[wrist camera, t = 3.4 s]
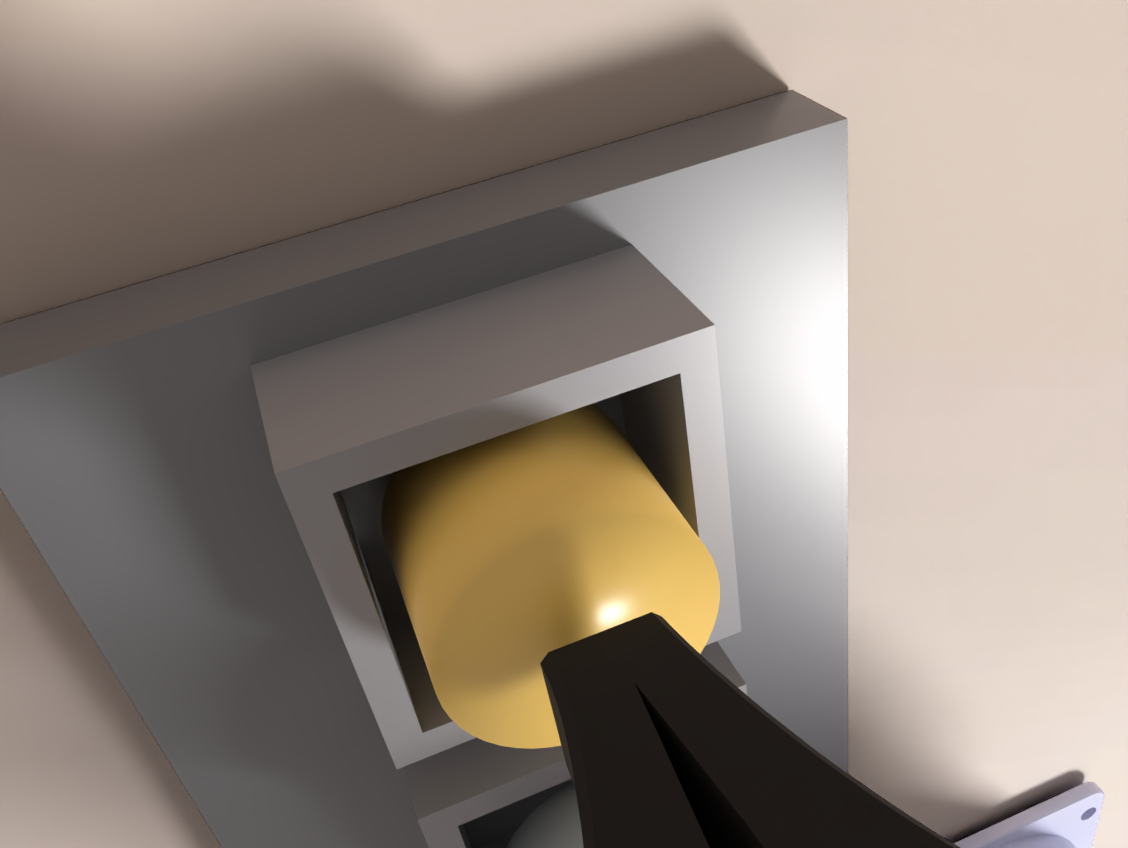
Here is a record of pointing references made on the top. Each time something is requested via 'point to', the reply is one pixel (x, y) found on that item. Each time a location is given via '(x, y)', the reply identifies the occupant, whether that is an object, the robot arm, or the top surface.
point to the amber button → (536, 564)
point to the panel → (431, 429)
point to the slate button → (552, 823)
